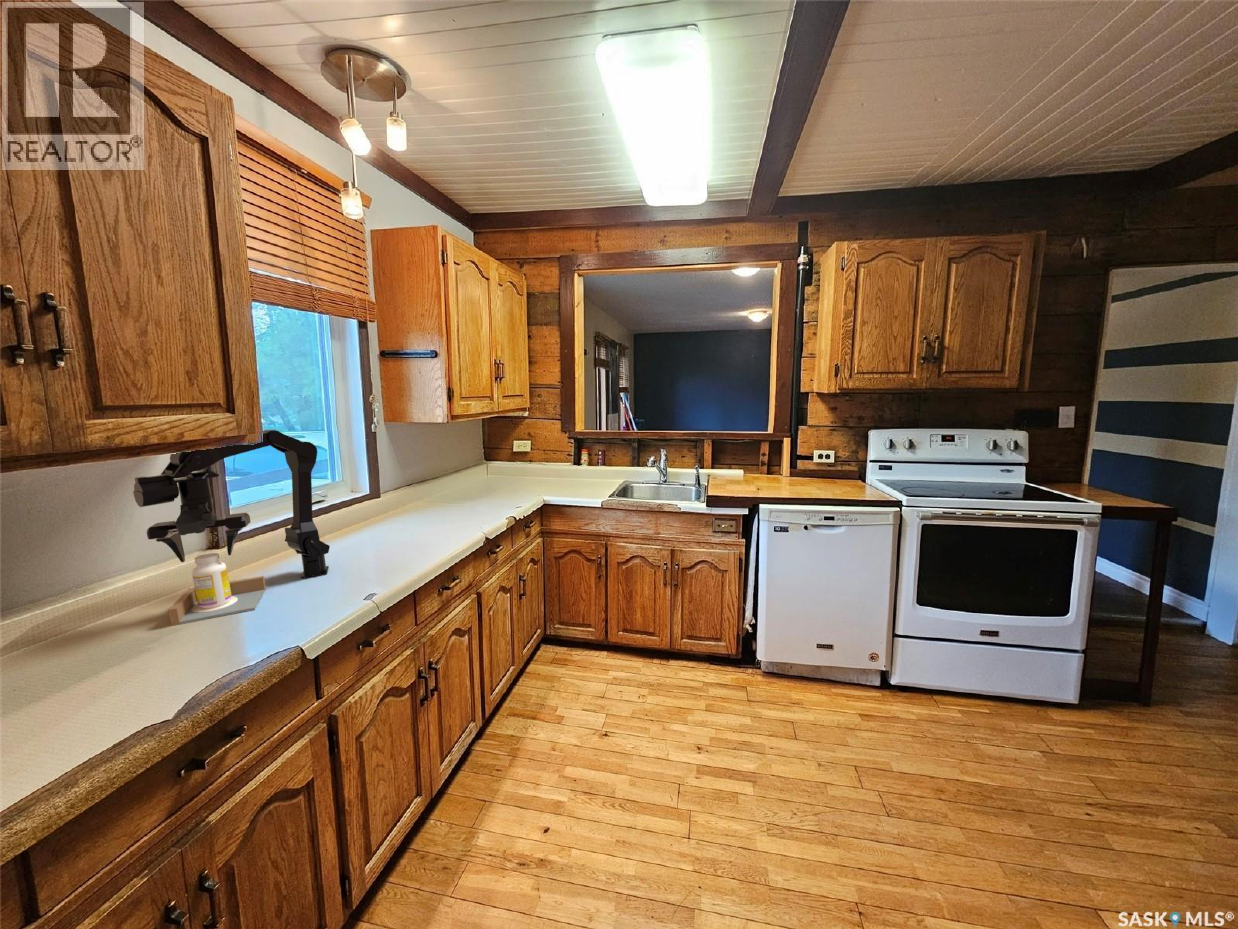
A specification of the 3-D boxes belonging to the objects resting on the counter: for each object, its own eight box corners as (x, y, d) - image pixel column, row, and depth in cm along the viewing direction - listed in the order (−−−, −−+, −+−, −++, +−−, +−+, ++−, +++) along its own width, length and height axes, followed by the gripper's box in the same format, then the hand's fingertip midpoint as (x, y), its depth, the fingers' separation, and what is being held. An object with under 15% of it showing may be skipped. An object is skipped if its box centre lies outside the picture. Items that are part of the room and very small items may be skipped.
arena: (191, 602, 125) (188, 588, 124) (266, 589, 132) (263, 575, 131) (171, 625, 112) (168, 609, 112) (255, 609, 119) (252, 594, 119)
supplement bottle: (225, 596, 126) (217, 549, 124) (237, 601, 123) (228, 553, 121) (193, 606, 120) (184, 557, 118) (204, 612, 117) (195, 562, 115)
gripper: (130, 510, 106) (143, 576, 108) (235, 499, 114) (245, 561, 117) (151, 500, 116) (163, 561, 118) (246, 490, 124) (255, 548, 126)
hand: (207, 558), depth 120 cm, fingers open, 9 cm apart
